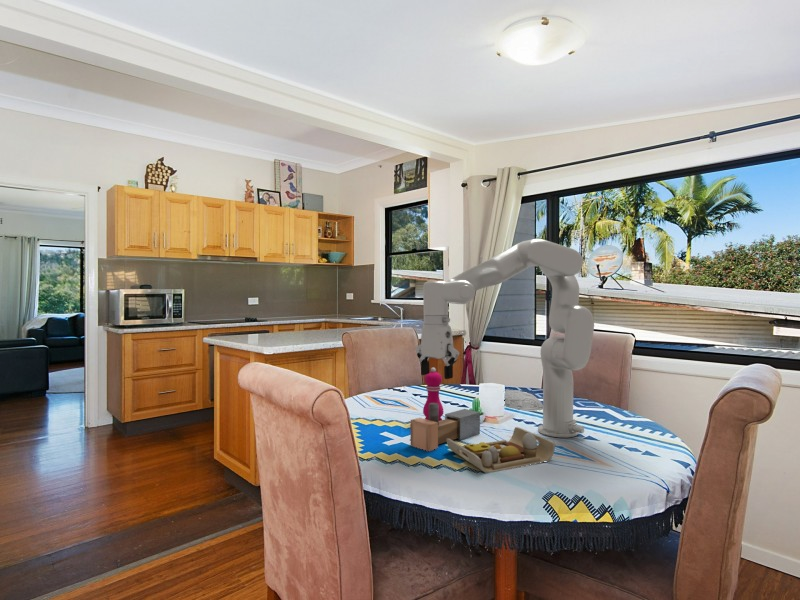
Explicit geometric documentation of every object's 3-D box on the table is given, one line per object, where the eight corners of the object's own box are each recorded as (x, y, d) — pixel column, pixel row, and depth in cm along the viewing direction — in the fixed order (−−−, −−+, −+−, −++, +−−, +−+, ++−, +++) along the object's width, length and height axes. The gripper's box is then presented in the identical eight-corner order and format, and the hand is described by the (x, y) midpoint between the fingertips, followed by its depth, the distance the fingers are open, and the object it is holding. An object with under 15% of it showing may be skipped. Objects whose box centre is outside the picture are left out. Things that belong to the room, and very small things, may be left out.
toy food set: (516, 442, 148) (516, 418, 148) (556, 462, 131) (556, 434, 131) (444, 453, 138) (444, 427, 138) (478, 476, 121) (478, 446, 121)
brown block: (437, 448, 141) (437, 422, 141) (428, 451, 138) (428, 425, 138) (419, 442, 147) (419, 417, 147) (410, 445, 144) (410, 419, 144)
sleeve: (479, 433, 156) (479, 412, 156) (460, 440, 149) (460, 418, 149) (464, 429, 161) (464, 408, 160) (445, 435, 154) (445, 414, 154)
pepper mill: (442, 427, 163) (442, 369, 163) (421, 426, 164) (421, 368, 164) (444, 421, 170) (444, 366, 170) (424, 420, 171) (424, 365, 171)
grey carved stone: (531, 412, 181) (532, 394, 182) (482, 403, 201) (482, 387, 201) (555, 410, 191) (555, 393, 192) (505, 402, 210) (505, 386, 211)
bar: (463, 436, 152) (463, 399, 152) (428, 448, 141) (428, 407, 141) (453, 433, 155) (453, 397, 155) (418, 444, 144) (418, 405, 144)
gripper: (465, 321, 142) (466, 378, 142) (424, 319, 154) (424, 371, 155) (449, 323, 137) (450, 382, 137) (407, 320, 149) (408, 374, 150)
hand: (436, 376), depth 146 cm, fingers open, 9 cm apart
